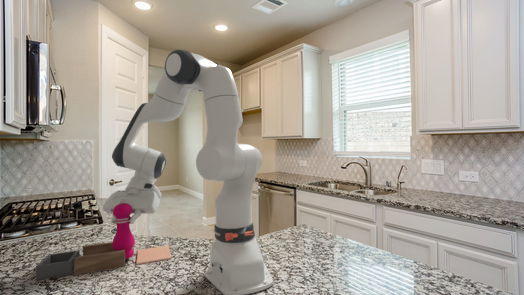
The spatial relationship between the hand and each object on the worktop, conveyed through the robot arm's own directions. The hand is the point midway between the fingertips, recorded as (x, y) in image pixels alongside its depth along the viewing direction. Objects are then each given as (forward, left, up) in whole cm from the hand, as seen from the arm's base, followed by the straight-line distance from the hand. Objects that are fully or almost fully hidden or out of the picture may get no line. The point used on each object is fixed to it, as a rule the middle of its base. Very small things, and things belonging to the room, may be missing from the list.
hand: (121, 222), depth 96 cm
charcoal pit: (+1, +18, -13) cm, 23 cm away
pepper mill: (+1, 0, -12) cm, 12 cm away
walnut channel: (+1, +6, -13) cm, 14 cm away
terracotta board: (+1, -10, -13) cm, 17 cm away
